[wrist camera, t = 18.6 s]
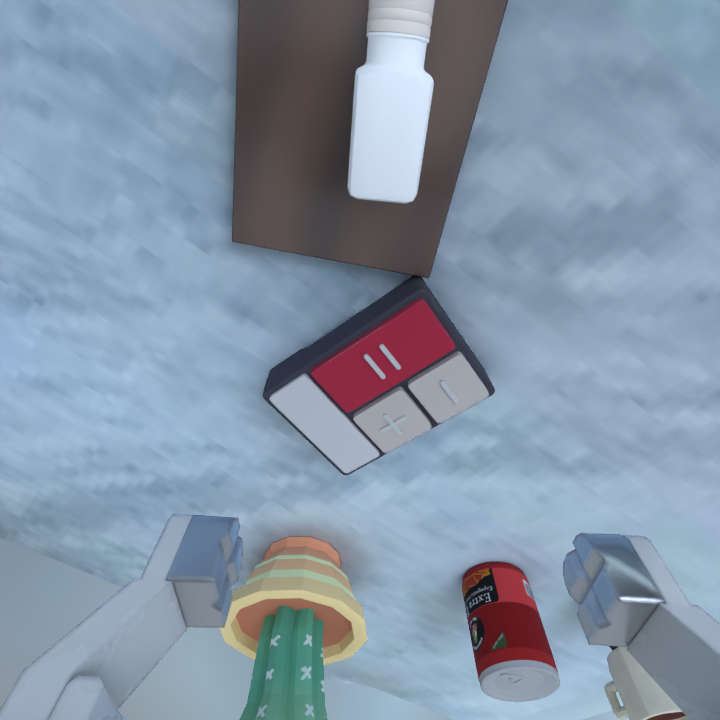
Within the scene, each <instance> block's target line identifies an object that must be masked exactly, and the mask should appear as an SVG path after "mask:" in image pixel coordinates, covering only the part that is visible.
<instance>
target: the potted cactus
mask: <svg viewBox="0 0 720 720" xmlns="http://www.w3.org/2000/svg"><path fill="white" fill-rule="evenodd" d="M340 567H341V562H340V556H339V553H338V552H337V551H336V550H335V549H334V548H333V547H332V546H331V545H329V544H328V543H327V542H324V541H321V540H318V539H315V538H312V537H308V536H304V537H286V538H284V539H282V540H279V541H277V542H275V543H273V544H271V545H270V547H269V549H268V550H267V552H266V554H265V559H264V560H263V561H262V562H261V563H259V564H258V565H257V566H256V567H255V568H254V570H253V571H252V573H251V574H250V576H249V578H248V579H247V581H246V582H245V584H244V585H243V587H240V588H238V589H236V590H235V591H234V592H233V594H232V598H233V599H232V602H231V606H230V609H229V613H228V617H227V620H226V624H225V627H224V628H219V629H220V631H221V633H222V636H223V638H224V640H225V642H226V643H227V644H228V645H230V646H231V647H233V648H235V649H236V650H238V651H240V652H241V653H243V654H244V655H246V656H248V657H249V658H251V659H255V664H254V669H253V675H252V680H251V686H250V691H249V696H248V702H247V705H246V707H245V709H244V711H243V714H242V716H241V718H240V720H328V718H327V713H326V709H325V695H324V665H327V664H330V663H334V662H337V661H340V660H343V659H346V658H350V657H351V656H352V655H353V654H354V653H355V652H356V651H357V650H358V649H359V648H360V647H361V646H362V645H363V644H364V643H365V642H366V641H367V634H366V626H365V619H364V614H363V609H362V605H361V604H360V603H358V602H357V601H356V600H355V598H354V595H353V592H352V589H351V585H350V582H349V579H348V577H347V576H346V575H345V573H344V572H343V570H342V569H341V568H340Z"/></svg>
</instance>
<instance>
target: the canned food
mask: <svg viewBox="0 0 720 720" xmlns="http://www.w3.org/2000/svg"><path fill="white" fill-rule="evenodd" d="M462 591H463V596H464V602H465V608H466V613H467V619H468V624H469V630H470V635H471V641H472V646H473V652H474V657H475V663H476V669H477V673H478V678H479V682H480V685H481V689H482V691H483V692H484V693H485V694H487V695H488V696H490V697H492V698H495V699H499V700H503V701H511V702H524V701H532V700H537V699H540V698H543V697H546V696H548V695H550V694H551V693H553V692H554V691H556V690H557V689H558V687H559V685H560V680H559V675H558V671H557V668H556V665H555V661H554V658H553V655H552V652H551V649H550V646H549V643H548V640H547V637H546V634H545V631H544V628H543V625H542V622H541V618H540V615H539V612H538V609H537V606H536V603H535V600H534V597H533V594H532V591H531V588H530V585H529V582H528V580H527V578H526V576H525V575H524V573H523V572H522V571H521V570H520V569H519V568H517V567H516V566H514V565H511V564H508V563H502V562H490V563H484V564H480V565H478V566H475V567H474V568H472V569H470V570H469V571H468V572H467V573H466V574H465V576H464V578H463V584H462Z"/></svg>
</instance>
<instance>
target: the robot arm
mask: <svg viewBox="0 0 720 720" xmlns="http://www.w3.org/2000/svg"><path fill="white" fill-rule="evenodd" d="M239 529H240V524H239V519H238V518H233V517H218V516H204V515H190V514H173V515H172V516H171V517H170V518H169V520H168V521H167V523H166V525H165V528H164V530H163V532H162V534H161V536H160V538H159V540H158V542H157V544H156V546H155V549H154V551H153V553H152V555H151V557H150V559H149V561H148V563H147V565H146V567H145V570H144V572H143V574H142V576H141V578H140V579H133V580H132V581H131V582H129V583H128V584H127V585H126V586H124V587H123V588H122V589H121V590H120V591H118V592H117V593H116V594H115V595H114V596H112V597H111V598H110V599H109V600H108V601H106V602H105V603H104V604H103V605H101V606H100V607H99V608H98V609H97V610H95V611H94V612H93V613H92V614H91V615H89V616H88V617H87V618H86V619H85V620H83V621H82V622H81V623H80V624H78V625H77V626H76V627H75V628H74V629H72V630H71V631H70V632H69V633H68V634H66V635H65V636H64V637H63V638H62V639H60V640H59V641H58V642H57V643H55V644H54V645H53V646H52V647H51V648H49V650H47V651H46V652H45V653H43V654H42V655H41V656H40V657H39V658H37V659H36V660H35V661H34V662H32V664H30V665H29V666H28V667H26V668H25V669H24V670H23V671H22V673H21V675H20V676H19V678H18V679H17V681H16V683H15V685H14V686H13V688H12V689H11V691H10V693H9V694H8V696H7V698H6V699H5V701H4V703H3V704H2V706H1V708H0V720H125V718H124V717H123V715H122V714H121V712H120V710H119V708H120V707H121V705H122V704H123V703H124V702H125V700H127V698H128V697H129V696H130V695H131V694H132V692H133V691H134V690H135V689H136V688H137V687H138V686H139V685H140V683H141V682H142V681H143V680H144V679H145V678H146V676H147V675H148V674H149V673H150V672H151V671H152V669H153V668H154V667H155V666H156V665H157V664H158V663H159V661H160V660H161V659H162V658H163V657H164V655H165V654H166V653H167V652H168V651H169V650H170V649H171V647H172V646H173V645H174V644H175V643H176V642H177V640H178V639H179V638H180V637H181V636H182V635H183V633H184V632H185V631H186V630H187V628H186V627H209V628H212V627H213V628H224V627H225V624H226V620H227V617H228V613H229V609H230V606H231V602H232V599H233V598H232V592H231V587H230V586H232V585H233V584H234V583H235V582H236V581H237V580H238V576H239V572H240V569H241V563H242V556H243V543H242V538H240V537H239V536H238V532H239ZM573 544H574V547H575V549H574V550H573V551H571V552H569V553H568V554H567V555H566V558H565V560H564V562H563V576H564V580H565V585H566V587H567V590H568V593H569V595H570V596H571V597H572V598H573V599H574V600H575V601H576V602H577V603H578V604H580V605H579V609H578V612H577V615H578V618H579V620H580V623H581V625H582V628H583V630H584V633H585V635H586V638H587V640H588V643H589V644H591V645H604V646H617V647H628V648H627V651H628V652H629V653H630V654H631V655H632V656H633V657H634V658H635V659H636V661H637V662H638V663H639V664H640V665H641V666H642V667H643V668H644V669H645V671H646V672H647V673H648V674H649V675H650V676H651V677H652V678H653V679H654V681H655V682H656V683H657V684H658V685H659V686H660V687H661V688H662V689H663V691H664V692H665V693H666V694H667V695H668V696H669V697H670V698H671V699H672V701H673V702H674V703H675V704H676V705H677V706H678V707H679V708H680V709H681V711H682V712H683V713H684V714H685V715H686V716H687V717H688V718H689V719H690V720H720V623H719V622H718V621H717V620H716V619H714V618H713V617H712V616H710V615H709V614H708V613H707V612H705V611H704V610H703V609H702V608H700V607H699V606H698V605H691V604H690V603H689V601H688V599H687V598H686V596H685V595H684V593H683V592H682V590H681V588H680V587H679V585H678V584H677V582H676V580H675V579H674V577H673V576H672V574H671V573H670V571H669V569H668V568H667V566H666V565H665V563H664V561H663V560H662V558H661V557H660V555H659V554H658V552H657V550H656V549H655V547H654V546H653V544H652V543H651V541H650V540H649V539H648V538H646V537H645V536H630V535H620V534H589V533H580V534H578V535H577V536H576V537H575V539H574V541H573Z"/></svg>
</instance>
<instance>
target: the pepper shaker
mask: <svg viewBox="0 0 720 720" xmlns="http://www.w3.org/2000/svg"><path fill="white" fill-rule="evenodd" d="M434 3H435V0H369V7H368V8H369V11H368V22H367V34H366V36H367V37H368V45H367V58H366V63H365V64H364V65H363V66H361V67H359V68H358V69H357V70H356V74H355V83H354V98H353V113H352V127H351V142H350V156H349V171H348V185H347V187H348V190H349V194H350V195H351V196H353V197H354V198H356V199H363V200H373V201H384V202H394V203H404V204H406V203H409V202H412V201H413V200H414V199H415V197H416V195H417V192H418V186H419V179H420V173H421V166H422V159H423V153H424V146H425V139H426V133H427V126H428V120H429V113H430V106H431V100H432V93H433V86H434V81H433V78H432V77H431V75H429V74H428V73H427V72H425V70H424V61H425V54H426V46H427V43H429V39H430V32H431V29H430V27H431V25H432V16H433V10H434Z"/></svg>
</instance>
